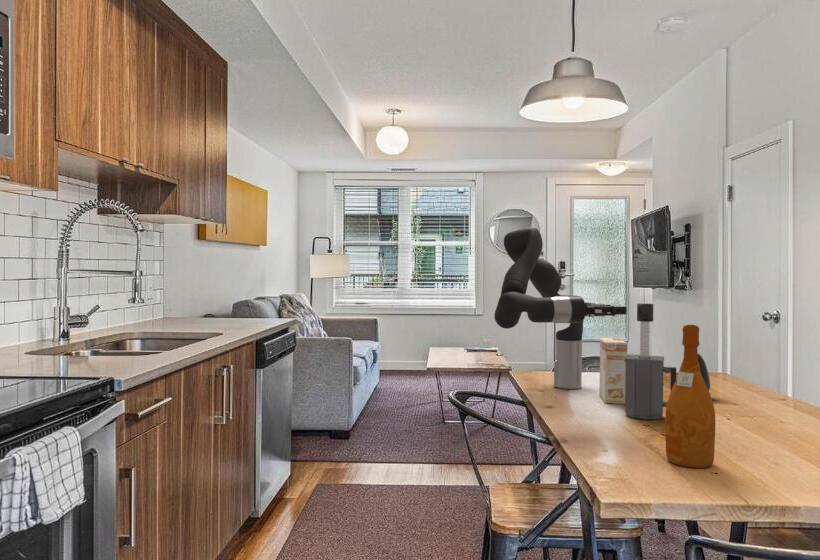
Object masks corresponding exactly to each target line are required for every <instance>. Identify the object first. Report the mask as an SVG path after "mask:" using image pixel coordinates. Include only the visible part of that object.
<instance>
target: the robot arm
mask: <svg viewBox="0 0 820 560" xmlns="http://www.w3.org/2000/svg"><path fill="white" fill-rule="evenodd" d="M543 245H544V244H543V238H542V234H541V233H540V231H539V229H538V228H536V227H533V226H530V227H526V228H525V227H524V228H520V229H517V230H512V231H510V232H508V233H506V234H505V235H504V237H503V246H504V250H505V252H506V254H507V255H508V257H509V258H510V259H511V261H512V262H513V264H511V266H510V267H509V269H508V270H507V271H506V273H505V275H504V278H503V281H502V286H501V292H500V297H499V299H498V301H497V305H496V308H495V310H494V311H495V312H494V313H493V314H494V315H493V316H494V321H495V323H496V324H497V326H499V327H500V328H502V329H506V330H507V329H508V330H509V329H513V328H514V327H516V325H517V324H518V323H519V321H520V319H521V316H522V314H523V313H526V315H527V318H528V320H529V321H530V322H532V323H537V324H540V323H554V324H569V326H568V327H566V328H563V329H559V330H558V331H556V333H555V359H554V361H553V367H554V368H553V387H554V388H560V389H564V390H565V389H566V390H567V389H568V390H578V389H581V388H582V387H583V386H582V383H583V382H582V379H583V378H582V376H583V375H582V373H583V370H582V369H583V368H582V367H583V365H582V364H583V359H582V358H583V357H582V356H583V332H584V320H585V318H586V317H589V318H595V317H600V318H601V317H603V318H604V317H606V316H607V317H608V316H609V317H611V316H612V317H615V316H616V315H617V316H619V315H621V316H622V315H627V310H628V309H627V306H614V305H611V304H605V303H595V302H585V300H584V298H583V297H582V296H580V295H571V294H570V295H563V294H560V293H559V291H560V290H561V286H562V277H561V275H560V273H559V271H558V270H557V268H556V267H555V266H554V265H553V264H552V263H551V262H549V261H548V260H545V259H542V258H540V257H541V253H543V251H542V250H543V247H544V246H543ZM529 281H530V282H531V284H532V286H533V287H534V288H535V289H536V291H537V292H538V293H539V294H540V296H541V297H537V296H532V295H528V294H526V293H527V290H528V286H529V285H528V284H529Z"/></svg>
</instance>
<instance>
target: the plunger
mask: <svg viewBox="0 0 820 560" xmlns="http://www.w3.org/2000/svg"><path fill="white" fill-rule="evenodd" d="M636 304H637V305H636V321H637V322H640V327H639V328H640V335H639V336H640V337H639V338H640V339H639V340H640V341H639V344H640V345H639V347H640V348H639V352H640V353H639V355H640V358H649V356H650V332H651V331H650V328H651V327H650V325H651V324H650V322H654V306H655V305H654V303H642V302H640V303H639V302H638V303H636Z"/></svg>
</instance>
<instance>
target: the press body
mask: <svg viewBox="0 0 820 560" xmlns="http://www.w3.org/2000/svg"><path fill="white" fill-rule="evenodd" d="M625 362H626V374H625V404H624V413H625V416H626V417H628V418H631V419H634V420H635V419H636V420H640V421H641V420H642V421H660V420H663V418H664V408H666V405H667V401H665V400H664V373H665V372H667V373H670V391H671V390H672V388H673V386H674V384H675V382H676V380H677V367H675V366H664V364H665V363H664V362H665V356H663V355H661V356H660V355H649V358H640V354H629V353H627V356H626V357H625Z"/></svg>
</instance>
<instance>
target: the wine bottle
mask: <svg viewBox="0 0 820 560" xmlns="http://www.w3.org/2000/svg"><path fill="white" fill-rule="evenodd" d="M681 344H682V346H683V360H682V361H683V363H682V362H681V364H682V365H681V364H680V366H681V370H680V369H679V370H680V372H679V371H678V373H679V374H677V377H676V382H675V384H674V386H673V388H672V390H671V389H670V392H669V396H668V398H667V401H666V402H667V405H666V407H665V417H664V418H665V422H664V423H665V427H664V428H665V429H664V430H665V435H664V436H665V439H664V440H665V455H666V456H665V457H666V459H667V461H669V462H670V463H673V464H675V465H677V466H681V467H686V468H692V469H693V468H694V469H703V468H704V469H705V468H709V467H710V466H712V465H713V464H714V460H715V447H716V411H715V406H714V403H713V398H712V395H711V393H710V389H709V390H708V388H707V386H706V384H705V382H704V379H703V377H702V374H701V372H700V365H699V362H698V354H699V351H698V347H699V346H700V328H699V326H698V325H695V324H686V325H684V326H683V327H682V343H681Z"/></svg>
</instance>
